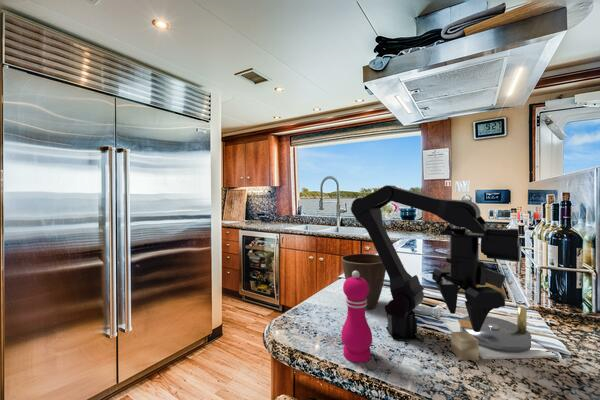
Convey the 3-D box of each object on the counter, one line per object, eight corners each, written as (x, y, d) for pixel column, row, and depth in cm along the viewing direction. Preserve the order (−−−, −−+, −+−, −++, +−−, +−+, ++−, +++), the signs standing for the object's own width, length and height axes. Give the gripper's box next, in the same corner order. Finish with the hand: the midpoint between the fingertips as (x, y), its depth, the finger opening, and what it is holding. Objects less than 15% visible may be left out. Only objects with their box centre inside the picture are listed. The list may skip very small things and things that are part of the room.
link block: (461, 360, 63) (460, 340, 63) (451, 350, 67) (451, 331, 67) (478, 359, 63) (478, 340, 63) (467, 350, 67) (467, 331, 67)
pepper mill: (338, 347, 69) (337, 267, 69) (366, 345, 70) (365, 266, 69) (345, 365, 62) (344, 276, 62) (377, 363, 63) (376, 274, 62)
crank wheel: (543, 357, 62) (543, 321, 62) (465, 345, 68) (465, 312, 67) (517, 326, 77) (517, 297, 76) (454, 319, 82) (454, 291, 82)
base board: (483, 359, 63) (483, 357, 63) (443, 324, 80) (443, 322, 80) (556, 357, 64) (556, 355, 64) (501, 322, 81) (501, 321, 81)
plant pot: (342, 313, 89) (341, 263, 89) (342, 296, 104) (341, 253, 103) (391, 315, 87) (390, 264, 86) (384, 297, 101) (383, 253, 101)
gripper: (532, 265, 56) (531, 342, 56) (472, 246, 74) (472, 305, 75) (476, 266, 55) (476, 343, 56) (431, 247, 74) (431, 305, 75)
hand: (463, 321), depth 65 cm, fingers open, 9 cm apart
